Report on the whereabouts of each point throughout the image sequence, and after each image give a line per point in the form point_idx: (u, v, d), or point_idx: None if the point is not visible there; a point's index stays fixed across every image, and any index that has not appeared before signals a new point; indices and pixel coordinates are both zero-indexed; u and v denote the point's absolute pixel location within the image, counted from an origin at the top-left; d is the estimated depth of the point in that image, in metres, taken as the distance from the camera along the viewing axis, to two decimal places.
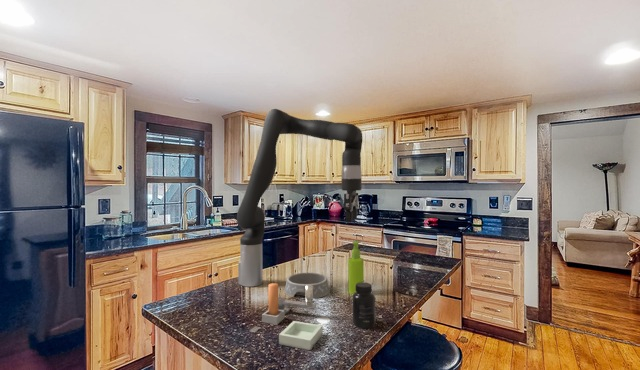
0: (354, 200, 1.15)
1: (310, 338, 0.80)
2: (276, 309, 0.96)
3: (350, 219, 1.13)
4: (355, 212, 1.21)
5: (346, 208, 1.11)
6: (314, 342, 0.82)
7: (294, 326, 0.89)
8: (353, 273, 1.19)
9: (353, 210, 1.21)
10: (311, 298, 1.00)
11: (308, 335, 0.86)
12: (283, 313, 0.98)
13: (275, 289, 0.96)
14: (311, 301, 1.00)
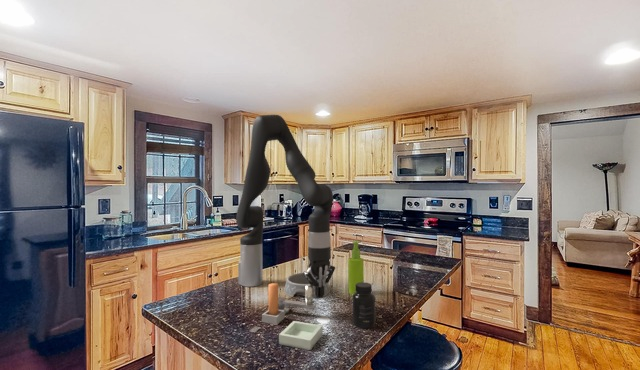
0: None
1: (310, 338, 0.80)
2: (276, 309, 0.96)
3: None
4: None
5: None
6: (314, 342, 0.82)
7: (294, 326, 0.89)
8: (353, 273, 1.19)
9: None
10: (311, 298, 1.00)
11: (308, 335, 0.86)
12: (283, 313, 0.98)
13: (275, 289, 0.96)
14: (311, 301, 1.00)
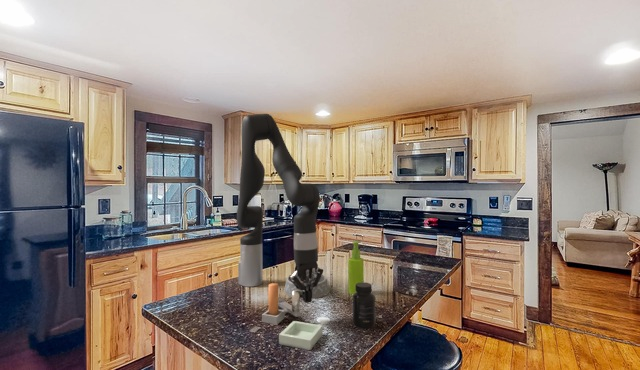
0: None
1: (310, 338, 0.80)
2: (276, 309, 0.96)
3: None
4: None
5: None
6: (314, 342, 0.82)
7: (294, 326, 0.89)
8: (353, 273, 1.19)
9: None
10: (296, 304, 0.94)
11: (308, 335, 0.86)
12: (283, 313, 0.98)
13: (275, 289, 0.96)
14: (296, 308, 0.94)
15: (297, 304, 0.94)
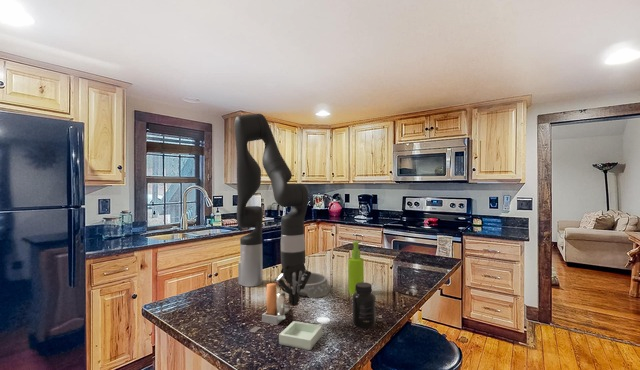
0: None
1: (310, 338, 0.80)
2: (274, 309, 0.96)
3: None
4: None
5: None
6: (314, 342, 0.82)
7: (294, 326, 0.89)
8: (353, 273, 1.19)
9: None
10: (279, 307, 0.92)
11: (308, 335, 0.86)
12: None
13: (273, 289, 0.96)
14: (279, 310, 0.92)
15: (280, 307, 0.92)
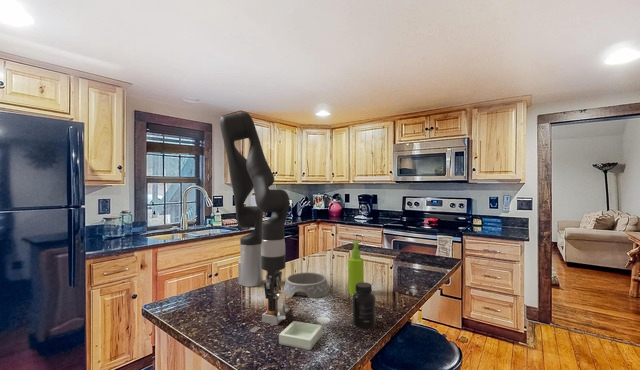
0: None
1: (310, 338, 0.80)
2: None
3: None
4: None
5: None
6: (314, 342, 0.82)
7: (294, 326, 0.89)
8: (353, 273, 1.19)
9: None
10: (279, 307, 0.92)
11: (308, 335, 0.86)
12: None
13: None
14: (279, 310, 0.92)
15: (281, 307, 0.92)
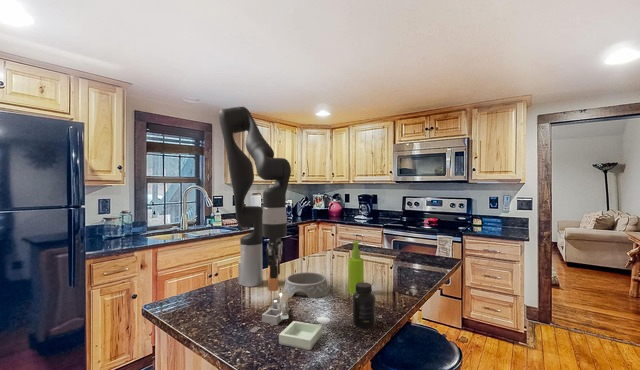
0: None
1: (310, 338, 0.80)
2: (276, 278, 0.97)
3: None
4: None
5: None
6: (314, 342, 0.82)
7: (294, 326, 0.89)
8: (353, 273, 1.19)
9: None
10: (282, 307, 0.93)
11: (308, 335, 0.86)
12: None
13: None
14: (282, 310, 0.93)
15: (283, 306, 0.93)
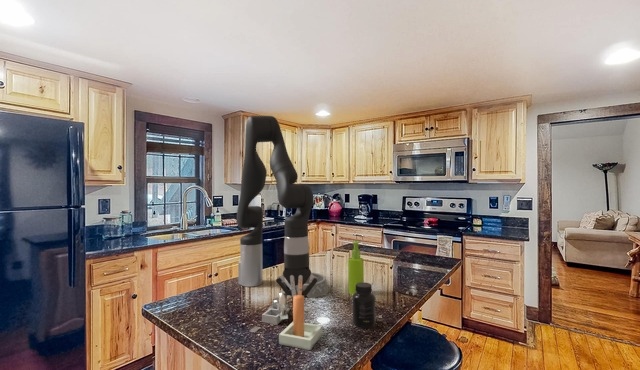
0: None
1: (310, 338, 0.80)
2: (302, 325, 0.84)
3: None
4: None
5: None
6: (314, 342, 0.82)
7: None
8: (353, 273, 1.19)
9: None
10: (282, 307, 0.93)
11: (308, 335, 0.86)
12: None
13: (301, 302, 0.84)
14: (282, 310, 0.93)
15: (283, 306, 0.92)
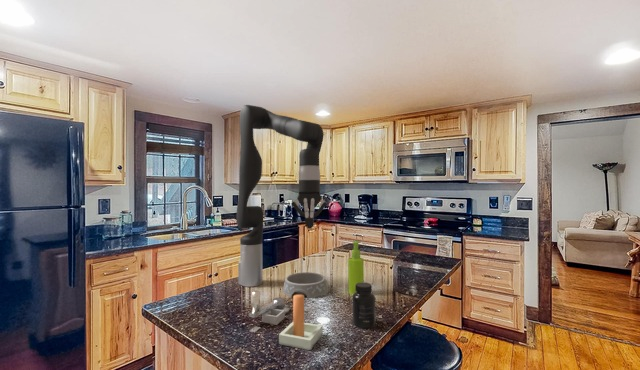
0: None
1: (310, 338, 0.80)
2: (302, 324, 0.84)
3: None
4: None
5: None
6: (314, 342, 0.82)
7: None
8: (353, 273, 1.19)
9: (309, 218, 1.09)
10: (252, 305, 0.94)
11: (308, 335, 0.86)
12: (283, 313, 0.98)
13: (301, 301, 0.84)
14: (252, 308, 0.94)
15: (253, 305, 0.94)
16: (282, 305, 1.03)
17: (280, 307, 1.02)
